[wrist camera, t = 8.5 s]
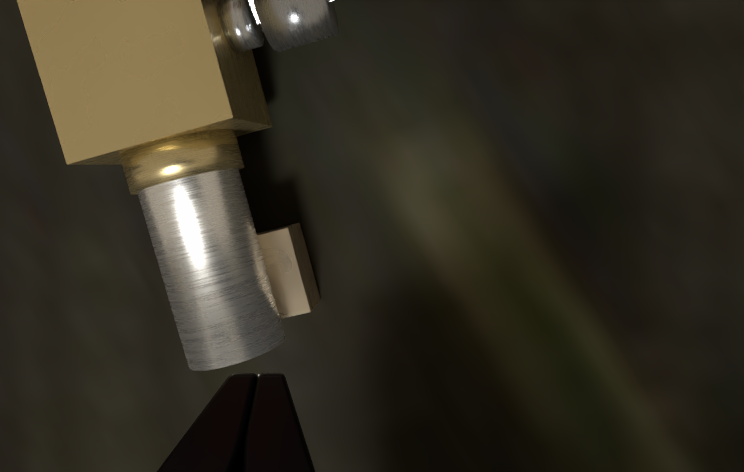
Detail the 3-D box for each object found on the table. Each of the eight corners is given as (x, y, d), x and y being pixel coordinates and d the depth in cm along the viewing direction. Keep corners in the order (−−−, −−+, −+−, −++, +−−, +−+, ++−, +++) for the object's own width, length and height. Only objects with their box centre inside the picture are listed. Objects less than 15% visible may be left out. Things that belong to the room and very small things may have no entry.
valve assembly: (349, 306, 22) (324, 348, 17) (201, 340, 22) (135, 390, 18) (233, -132, 20) (168, -227, 15) (79, -79, 21) (-30, -153, 16)
